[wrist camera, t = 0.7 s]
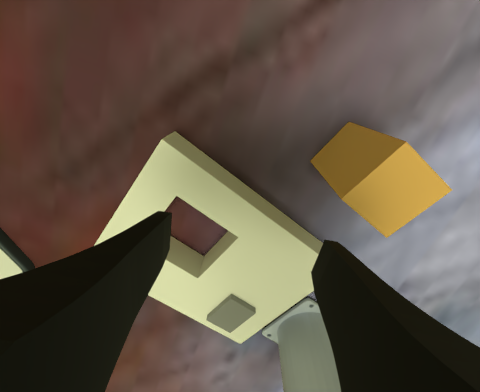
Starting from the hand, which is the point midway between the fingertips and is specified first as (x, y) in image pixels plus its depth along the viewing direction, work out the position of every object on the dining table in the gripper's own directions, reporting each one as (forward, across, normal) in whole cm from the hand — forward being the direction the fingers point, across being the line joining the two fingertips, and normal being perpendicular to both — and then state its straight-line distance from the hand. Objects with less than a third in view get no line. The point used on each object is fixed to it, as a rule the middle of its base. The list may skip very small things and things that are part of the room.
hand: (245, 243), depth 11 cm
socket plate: (+10, +2, +8) cm, 13 cm away
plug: (+10, -8, -3) cm, 13 cm away
